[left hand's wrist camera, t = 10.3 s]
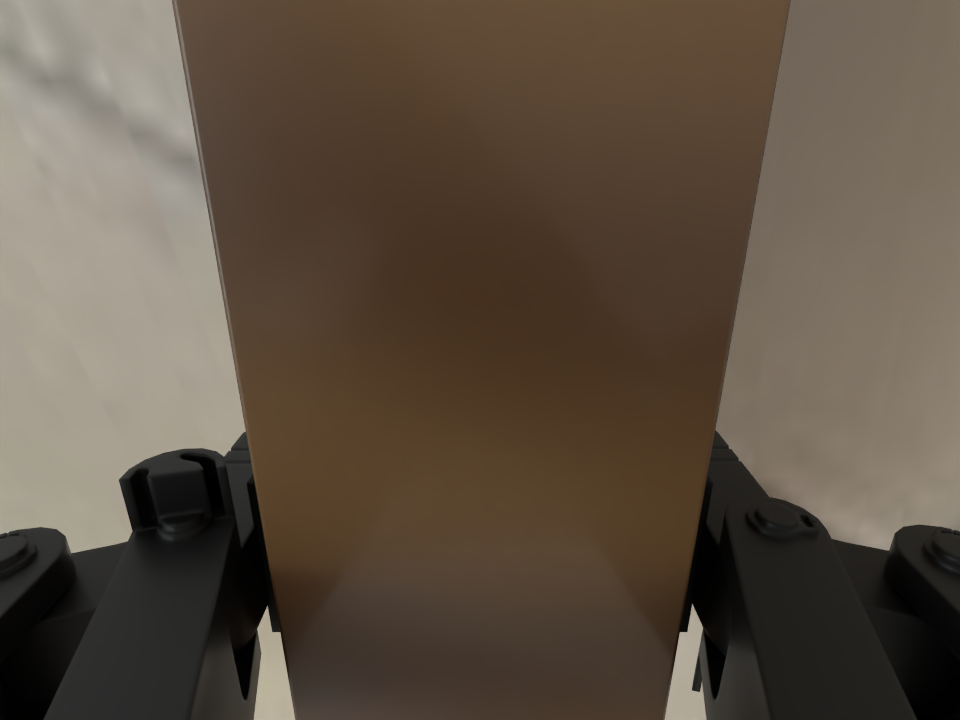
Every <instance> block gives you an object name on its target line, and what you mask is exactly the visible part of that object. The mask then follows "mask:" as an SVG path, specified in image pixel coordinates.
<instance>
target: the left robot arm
mask: <svg viewBox="0 0 960 720" xmlns="http://www.w3.org/2000/svg"><path fill="white" fill-rule="evenodd" d="M119 482H120V486H121V490H122V493H123V497H124V501H125V504H126V508H127V512H128V515H129V519H130V523H131V527H132V530H133V532H132V534H131V536H130V538H129V540H128V542H124V543H120V544H116V545H111V546H106V547H101V548H96V549H91V550H86V551H81V552H76V553H71V552H70V549H69V546H68V543H67V539H66V536H65V535H63V534H62V533H61V532H59V531H58V530H57V529H50V528H42V527H39V528H30V529H21V530H15V531H11V532H9V533H7V534H6V533H4V534H1V535H0V720H254V711H255V702H256V694H257V685H258V676H259V668H260V659H261V649H260V643H259V637H258V632H257V628H258V625H259V623H260V621H261V619H262V617H263V614H264V612H265V610H266V608H267V605H268V609H269V615H270V621H271V626H272V632H280V626H279V620H278V615H277V609H276V603H275V597H274V591H273V586H272V580H271V574H270V568H269V562H268V556H267V551H266V545H265V539H264V533H263V527H262V522H261V516H260V510H259V504H258V498H257V492H256V487H255V481H254V475H253V469H252V463H251V458H250V452H249V446H248V440H247V434H246V432H244V433H243V434H242V435H241V436H240V438H239V439H238V440H237V441H236V443H235V444H234V445H233V446H232V448H231V451H229V452H228V453H227V454H226V455H225V457H223V456H222V455H220V454H219V453H218V452H216V451H212V450H207V449H203V448H199V449H181V450H176V451H171V452H166V453H162V454H160V455H157V456H154V457H152V458H149V459H146V460H144V461H142V462H141V463H139V464H137V465H135V466H134V467H132V468H130V469H129V470H128V471H127V472H126V473H125V474H124V475H123V476H122V477H121V478H120V479H119ZM692 604H693V606H694V608H695V610H696V612H697V615H698V617H699V619H700V621H701V623H702V626H703V632H702V637H701V642H700V648H699V653H698V658H697V664H696V669H695V674H694V680H693V687H692V690H693V691H698V692H700V688H701V683H702V684H703V692H704V701H705V709H706V718H707V720H960V532H959V531H956V530H954V531H952V530H951V529H948V528H944V527H936V526H927V525H913V526H906V527H903V528H901V529H900V530H899V531H897V532H896V533H895V535H894V538H893V541H892V544H891V547H890V550H889V551H886V550H881V549H876V548H871V547H866V546H861V545H856V544H851V543H846V542H842V541H838V540H834V539H831V537H830V535H829V533H828V531H827V529H826V528H825V527H824V526H823V524H822V523H821V522H820V521H819V519H818V518H816V517H815V516H813V515H812V514H810V513H809V512H808V511H806V510H805V509H803V508H801V507H799V506H796V505H794V504H792V503H789V502H787V501H784V500H780V499H776V498H771V497H769V496H768V495H767V494H766V492H765V491H764V490H763V489H762V487H761V486H760V485H759V484H758V482H757V481H756V480H755V479H754V477H753V476H752V475H751V474H750V472H749V471H748V470H747V469H746V467H745V466H744V465H743V464H742V462H739V461H738V457H737V456H736V455H735V453H734V452H733V451H732V450H731V449H729V446H728V445H727V443H726V442H725V441H724V440H723V438H722V437H721V436H720V435H719V433H718V432H717V431H715V434H714V439H713V445H712V451H711V457H710V462H709V468H708V474H707V479H706V485H705V491H704V496H703V502H702V508H701V514H700V519H699V525H698V531H697V536H696V542H695V548H694V553H693V559H692V565H691V571H690V576H689V582H688V588H687V593H686V599H685V605H684V610H683V616H682V622H681V628H680V632H687V630H688V624H689V618H690V613H691V607H692Z"/></svg>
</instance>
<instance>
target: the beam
mask: <svg viewBox="0 0 960 720" xmlns="http://www.w3.org/2000/svg"><path fill="white" fill-rule="evenodd" d="M790 1H791V0H172V4H173V9H174V15H175V21H176V27H177V33H178V38H179V44H180V50H181V56H182V62H183V68H184V73H185V79H186V85H187V91H188V97H189V102H190V108H191V114H192V120H193V126H194V132H195V137H196V143H197V149H198V155H199V161H200V166H201V172H202V178H203V184H204V190H205V196H206V201H207V207H208V213H209V219H210V225H211V231H212V236H213V242H214V248H215V254H216V260H217V265H218V271H219V277H220V283H221V289H222V295H223V300H224V306H225V312H226V318H227V324H228V329H229V335H230V341H231V347H232V353H233V359H234V364H235V370H236V376H237V382H238V388H239V393H240V399H241V405H242V411H243V417H244V423H245V428H246V434H247V440H248V446H249V452H250V458H251V463H252V469H253V475H254V481H255V487H256V492H257V498H258V504H259V510H260V516H261V522H262V527H263V533H264V539H265V545H266V551H267V556H268V562H269V568H270V574H271V580H272V586H273V591H274V597H275V603H276V609H277V615H278V620H279V626H280V632H281V638H282V644H283V650H284V655H285V661H286V667H287V673H288V679H289V684H290V690H291V696H292V702H293V708H294V714H295V719H296V720H664V719H665V713H666V707H667V702H668V696H669V690H670V685H671V679H672V673H673V667H674V662H675V656H676V650H677V645H678V639H679V633H680V628H681V622H682V616H683V610H684V605H685V599H686V593H687V588H688V582H689V576H690V571H691V565H692V559H693V553H694V548H695V542H696V536H697V531H698V525H699V519H700V514H701V508H702V502H703V496H704V491H705V485H706V479H707V474H708V468H709V462H710V457H711V451H712V445H713V439H714V434H715V428H716V422H717V417H718V411H719V405H720V400H721V394H722V388H723V382H724V377H725V371H726V365H727V360H728V354H729V348H730V343H731V337H732V331H733V325H734V320H735V314H736V308H737V303H738V297H739V291H740V286H741V280H742V274H743V268H744V263H745V257H746V251H747V246H748V240H749V234H750V229H751V223H752V217H753V211H754V206H755V200H756V194H757V189H758V183H759V177H760V172H761V166H762V160H763V155H764V149H765V143H766V137H767V132H768V126H769V120H770V115H771V109H772V103H773V98H774V92H775V86H776V80H777V75H778V69H779V63H780V58H781V52H782V46H783V41H784V35H785V29H786V23H787V18H788V12H789V6H790Z"/></svg>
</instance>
